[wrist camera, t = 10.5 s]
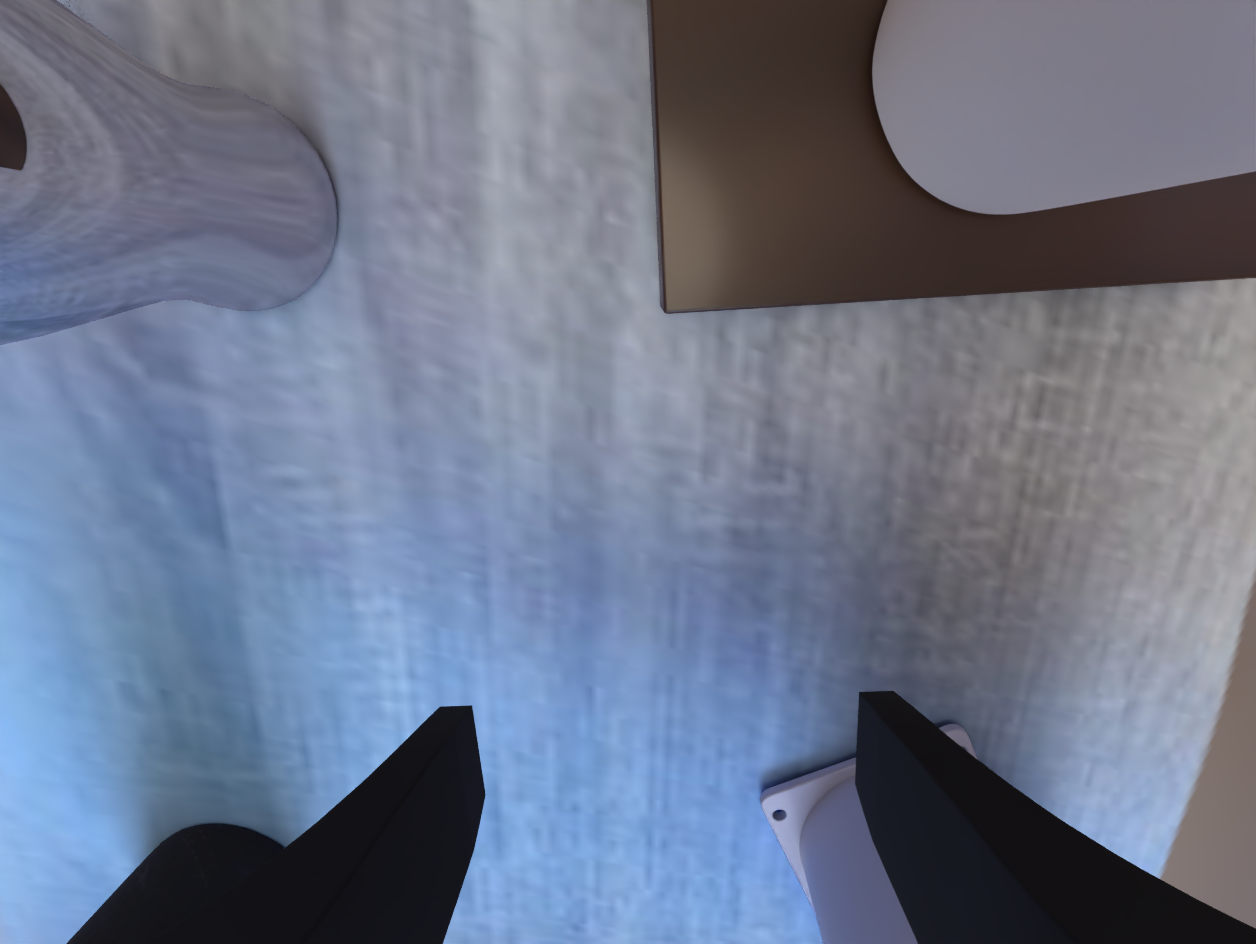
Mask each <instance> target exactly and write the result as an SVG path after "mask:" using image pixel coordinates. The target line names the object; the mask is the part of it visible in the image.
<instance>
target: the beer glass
mask: <svg viewBox="0 0 1256 944" xmlns="http://www.w3.org/2000/svg"><path fill="white" fill-rule="evenodd" d="M336 234H337V205H336V199H335V194H334V190H333V186H332V183H331V180H330V177H329V174H328V172H327V169H326V167H325V165H324V163H323V161H322V159H321V157H320V156H319V154H318V152H317V151H316V149H315V148H314V146H313V145H312V143H311V142H310V141H309V140H308V138H307V137H306V136H305V135H304V134H303V132H302V131H301V130H300V129H299V128H298V127H297V126H296V125H295V124H294V123H293V122H292V121H290V120H289V119H288V118H287V117H286V116H284V115H283V114H282V113H280V112H279V111H278V110H276V109H275V108H273V107H271V106H270V105H268V104H266V103H264V102H262V101H260V100H258V99H255V98H253V97H250V96H248V95H245V94H242V93H238V92H235V91H230V90H225V89H220V88H214V87H207V86H200V85H193V84H187V83H183V82H180V81H177V80H175V79H172V78H170V77H168V76H166V75H164V74H162V73H160V72H159V71H157V70H155V69H154V68H152V67H151V66H149V65H148V64H146V63H145V62H143V61H142V60H140V59H139V58H137V57H136V56H134V55H133V54H131V53H130V52H128V51H127V50H126V49H124V48H123V47H122V46H120V45H119V44H117V43H116V42H115V41H113V40H112V39H111V38H109V37H108V36H106V35H105V34H104V33H102V32H101V31H99V30H98V29H97V28H95V27H94V26H93V25H91V24H90V23H88V22H87V21H86V20H84V19H83V18H82V17H80V16H79V15H77V14H76V13H74V12H73V11H72V10H70V9H69V8H67V7H66V6H65V5H63V4H62V3H60V2H59V1H57V0H0V345H4V344H9V343H13V342H18V341H22V340H27V339H31V338H35V337H40V336H44V335H47V334H51V333H54V332H58V331H61V330H65V329H68V328H72V327H75V326H79V325H82V324H86V323H89V322H92V321H96V320H99V319H103V318H106V317H109V316H113V315H116V314H119V313H122V312H126V311H129V310H132V309H136V308H139V307H143V306H147V305H151V304H154V303H158V302H162V301H170V300H188V301H194V302H198V303H203V304H207V305H211V306H215V307H220V308H225V309H231V310H239V311H261V310H268V309H273V308H276V307H279V306H282V305H285V304H287V303H289V302H291V301H293V300H295V299H296V298H298V297H300V296H301V295H302V294H304V293H305V292H306V291H307V290H309V289H310V288H311V287H312V286H313V285H314V284H315V282H316V281H317V280H318V279H319V277H320V276H321V275H322V273H323V271H324V270H325V268H326V266H327V264H328V262H329V260H330V257H331V255H332V252H333V248H334V245H335V240H336Z"/></svg>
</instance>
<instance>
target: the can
mask: <svg viewBox="0 0 1256 944" xmlns="http://www.w3.org/2000/svg"><path fill="white" fill-rule="evenodd" d="M872 80H873V91H874V97H875V103H876V107H877V111H878V115H879V118H880V122H881V125H882V127H883V130H884V133H885V135H886V137H887V140H888V142H889V144H890V146H891V148H892V150H893V152H894V154H895V156H896V158H897V159H898V161H899V162H900V164H901V165H902V167H903V168H904V169H905V171H906V172H907V173H908V174H909V175H910V177H911V178H912V179H913V180H914V181H915V182H916V183H918V184H919V185H920V186H921V187H922V188H923V189H925V190H926V191H927V192H929V193H930V194H932V195H933V196H935V197H936V198H938V199H940V200H942V201H944V202H946V203H948V204H950V205H953V206H955V207H958V208H961V209H964V210H968V211H972V212H977V213H983V214H1019V213H1026V212H1033V211H1040V210H1046V209H1052V208H1058V207H1064V206H1069V205H1075V204H1080V203H1086V202H1092V201H1097V200H1103V199H1108V198H1114V197H1119V196H1125V195H1130V194H1136V193H1141V192H1147V191H1152V190H1157V189H1163V188H1168V187H1174V186H1179V185H1185V184H1190V183H1195V182H1201V181H1206V180H1212V179H1217V178H1222V177H1228V176H1233V175H1239V174H1244V173H1249V172H1255V171H1256V0H888V1H887V3H886V6H885V9H884V12H883V15H882V18H881V22H880V25H879V29H878V33H877V38H876V43H875V48H874V54H873V63H872Z"/></svg>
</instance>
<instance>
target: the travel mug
mask: <svg viewBox="0 0 1256 944" xmlns="http://www.w3.org/2000/svg"><path fill="white" fill-rule="evenodd" d="M283 849H284V848H282V847H281V846H280V845H278V844H277V843H275V842H274V841H272V840H270V839H268V838H267V837H265V836H262V835H260V834H258V833H256V832H253V831H250V830H247V829H244V828H240V827H235V826H229V825H217V824H210V825H199V826H194V827H190V828H187V829H184V830H181V831H179V832H177V833H175V834H173V835H172V836H170V837H169V838H167V839H166V840H165V841H163V842H162V843H161V844H160V845H159V846H158V847H157V848H156V849H155V850H154V851H153V852H152V853H151V854H150V855H149V856H148V857H147V858H146V859H145V860H144V861H143V862H142V863H141V864H140V865H139V866H138V867H137V868H136V869H135V870H134V871H133V873H132V874H131V875H130V876H129V877H128V878H127V879H126V880H125V881H124V882H123V883H122V884H121V885H120V886H119V887H118V889H117V890H116V891H115V892H114V893H113V894H112V895H111V896H110V897H109V898H108V899H107V900H106V902H105V903H104V904H103V905H102V906H101V907H100V908H99V909H98V910H97V911H96V912H95V913H94V914H93V916H92V917H91V918H90V919H89V920H88V921H87V922H86V923H85V924H84V925H83V926H82V927H81V929H80V930H79V931H78V932H77V933H76V934H75V935H74V936H73V937H72V938H71V939H70V940H69V941H68V943H67V944H143V943H144V942H146V941H148V940H149V939H151V938H153V937H154V936H156V935H158V934H159V933H161V932H162V931H164V930H166V929H167V928H169V927H171V926H172V925H174V924H176V923H177V922H179V921H180V920H182V919H184V918H185V917H187V916H188V915H190V914H191V913H193V912H194V911H196V910H197V909H199V908H200V907H202V906H203V905H205V904H206V903H208V902H209V901H211V900H212V899H214V898H215V897H217V896H218V895H220V894H221V893H223V892H224V891H226V890H227V889H229V888H230V887H232V886H233V885H235V884H236V883H238V882H239V881H241V880H242V879H244V878H245V877H247V876H248V875H249V874H251V873H252V872H254V871H255V870H256V869H258V868H259V867H260V866H262V865H263V864H264V863H266V862H267V861H268V860H270V859H271V858H272V857H274V856H275V855H276V854H278V853H279V852H280V851H282V850H283Z"/></svg>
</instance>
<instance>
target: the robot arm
mask: <svg viewBox="0 0 1256 944" xmlns="http://www.w3.org/2000/svg"><path fill="white" fill-rule="evenodd" d="M961 746H962V747H961ZM484 799H485V788H484V782H483V775H482V769H481V762H480V756H479V749H478V742H477V736H476V729H475V723H474V716H473V709H472V706H447V707H439V708H438V709H437V710H436V711H435V712H434V713H433V714H432V715H431V716H430V717H429V718H428V719H427V720H426V721H425V722H424V723H423V724H422V725H421V726H420V727H419V728H418V729H417V730H416V731H415V732H414V733H413V734H412V735H411V736H410V737H409V738H408V739H407V740H406V741H405V742H404V743H403V744H402V745H401V746H400V747H399V748H398V749H397V750H396V751H395V752H393V753H392V754H391V755H390V756H389V757H388V758H387V759H386V760H385V761H384V762H383V763H382V764H381V765H380V766H379V767H378V768H377V769H376V770H375V771H374V772H373V773H372V774H371V775H370V776H368V777H367V778H366V779H365V780H364V781H363V782H362V783H361V784H360V785H359V786H358V787H356V788H355V789H354V790H353V791H352V792H351V793H350V794H349V795H347V796H346V797H345V798H344V799H343V800H342V801H341V802H339V803H338V804H337V805H336V806H335V807H334V808H333V809H332V810H330V811H329V812H328V813H327V814H326V815H325V816H324V817H322V818H321V819H320V820H319V821H318V822H317V823H316V824H314V825H313V826H312V827H311V828H309V829H308V830H307V831H306V832H305V833H303V834H302V835H301V836H300V837H298V838H297V839H296V840H295V841H293V842H292V843H291V844H290V845H288V846H287V847H286V848H284V849H283V850H282V851H280V852H279V853H278V854H276V855H275V856H274V857H272V858H271V859H270V860H268V861H267V862H266V863H264V864H263V865H262V866H260V867H259V868H258V869H256V870H255V871H254V872H252V873H251V874H249V875H248V876H247V877H245V878H244V879H242V880H241V881H239V882H238V883H236V884H235V885H233V886H232V887H230V888H229V889H227V890H226V891H224V892H223V893H221V894H220V895H218V896H217V897H215V898H214V899H212V900H211V901H209V902H208V903H206V904H205V905H203V906H202V907H200V908H199V909H197V910H196V911H194V912H193V913H191V914H190V915H188V916H187V917H185V918H184V919H182V920H180V921H179V922H177V923H176V924H174V925H172V926H171V927H169V928H167V929H166V930H164V931H162V932H161V933H159V934H158V935H156V936H154V937H153V938H151V939H149V940H148V941H146V942H144V943H143V944H443V941H444V938H445V935H446V932H447V929H448V926H449V923H450V920H451V918H452V915H453V912H454V909H455V906H456V903H457V900H458V897H459V894H460V891H461V888H462V885H463V882H464V879H465V876H466V873H467V870H468V867H469V864H470V860H471V857H472V854H473V851H474V847H475V842H476V838H477V833H478V829H479V824H480V819H481V814H482V809H483V804H484ZM760 802H761V807H762V810H763V812H764V814H765V816H766V818H767V820H768V821H769V823H770V825H771V827H772V829H773V831H774V833H775V835H776V837H777V839H778V841H779V843H780V845H781V847H782V849H783V851H784V853H785V855H786V857H787V859H788V861H789V863H790V865H791V867H792V868H793V870H794V872H795V874H796V876H797V878H798V880H799V882H800V884H801V886H802V888H803V890H804V892H805V894H806V896H807V898H808V900H809V902H810V904H811V906H812V908H813V910H814V912H815V914H816V918H817V922H818V925H819V929H820V933H821V937H822V940H823V944H1256V929H1255V928H1253V927H1251V926H1249V925H1247V924H1245V923H1243V922H1241V921H1239V920H1236V919H1234V918H1233V917H1230V916H1229V915H1227V914H1225V913H1222V912H1221V911H1219V910H1217V909H1214V908H1213V907H1211V906H1209V905H1207V904H1205V903H1203V902H1201V901H1199V900H1197V899H1195V898H1193V897H1191V896H1190V895H1188V894H1186V893H1184V892H1182V891H1180V890H1178V889H1177V888H1175V887H1173V886H1171V885H1169V884H1168V883H1166V882H1164V881H1162V880H1160V879H1158V878H1157V877H1155V876H1153V875H1151V874H1149V873H1147V872H1146V871H1144V870H1142V869H1140V868H1139V867H1137V866H1135V865H1133V864H1132V863H1130V862H1128V861H1126V860H1125V859H1123V858H1121V857H1120V856H1118V855H1116V854H1114V853H1113V852H1111V851H1110V850H1108V849H1106V848H1105V847H1103V846H1102V845H1100V844H1098V843H1097V842H1095V841H1094V840H1092V839H1090V838H1089V837H1087V836H1086V835H1084V834H1082V833H1081V832H1079V831H1078V830H1076V829H1074V828H1073V827H1071V826H1070V825H1068V824H1066V823H1065V822H1063V821H1062V820H1060V819H1059V818H1057V817H1056V816H1054V815H1053V814H1051V813H1050V812H1048V811H1047V810H1046V809H1044V808H1043V807H1041V806H1040V805H1038V804H1037V803H1036V802H1034V801H1033V800H1031V799H1030V798H1029V797H1027V796H1026V795H1024V794H1023V793H1022V792H1020V791H1019V790H1017V789H1016V788H1015V787H1013V786H1012V785H1010V784H1009V783H1008V782H1006V781H1005V780H1004V779H1002V778H1001V777H1000V776H998V775H997V774H996V773H994V772H993V771H992V770H990V769H989V768H988V767H986V766H985V765H984V764H983V763H981V762H980V761H979V760H978V759H977V756H976V754H975V751H974V749H973V746H972V743H971V741H970V738H969V736H968V735H967V733H966V732H965V730H964V729H963V727H961V726H960V725H958V724H948V725H945V726H942V727H939V728H938V727H937V726H935V725H934V724H933V723H932V722H931V721H929V720H928V719H927V718H926V717H925V716H923V715H922V714H921V713H920V712H919V711H917V710H916V709H915V708H914V707H913V706H911V705H910V704H909V703H908V702H907V701H905V700H904V699H903V698H902V697H900V696H899V695H898V694H897V693H895V692H894V691H874V692H859V708H858V729H857V749H856V757H855V758H852V759H849V760H847V761H844V762H841V763H838V764H835V765H832V766H830V767H827V768H824V769H821V770H818V771H816V772H813V773H810V774H807V775H804V776H802V777H799V778H796V779H793V780H790V781H788V782H785V783H782V784H779V785H776V786H773V787H771V788H768V789H766V790H764V791H763V792H762V793H761V795H760ZM780 809H781V810H783V811H781V812H777V813H776V812H774V811H776V810H780Z"/></svg>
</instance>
